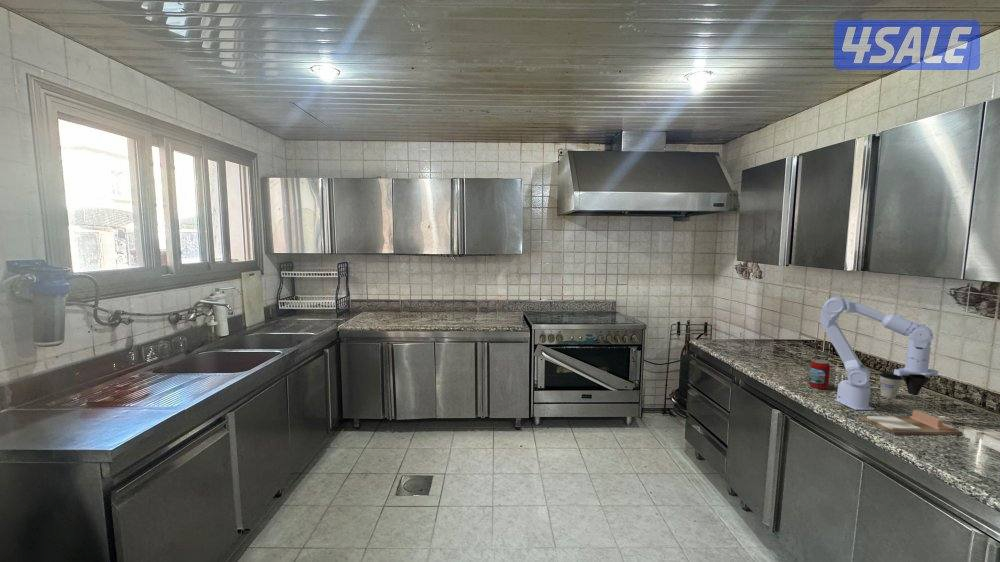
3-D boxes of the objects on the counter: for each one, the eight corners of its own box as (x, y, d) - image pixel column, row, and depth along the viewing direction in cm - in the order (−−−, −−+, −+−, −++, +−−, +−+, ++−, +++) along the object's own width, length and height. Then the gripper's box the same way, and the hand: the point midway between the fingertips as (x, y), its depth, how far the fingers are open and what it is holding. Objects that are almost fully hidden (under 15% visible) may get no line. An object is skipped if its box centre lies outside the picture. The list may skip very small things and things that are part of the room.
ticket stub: (910, 417, 143) (911, 409, 143) (925, 417, 143) (927, 409, 143) (938, 429, 134) (939, 421, 134) (955, 429, 134) (956, 421, 134)
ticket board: (860, 418, 144) (860, 414, 144) (922, 418, 145) (923, 414, 145) (893, 434, 132) (894, 430, 132) (961, 434, 133) (962, 430, 133)
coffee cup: (887, 393, 170) (890, 370, 168) (904, 399, 163) (907, 376, 162) (872, 393, 169) (874, 370, 168) (888, 399, 162) (891, 376, 161)
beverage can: (804, 385, 177) (807, 359, 176) (815, 383, 179) (818, 358, 178) (821, 390, 171) (824, 364, 170) (831, 389, 173) (834, 362, 172)
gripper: (910, 361, 138) (905, 398, 139) (949, 361, 138) (944, 398, 140) (889, 355, 145) (885, 390, 146) (927, 355, 145) (922, 391, 147)
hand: (912, 394), depth 144 cm, fingers closed
